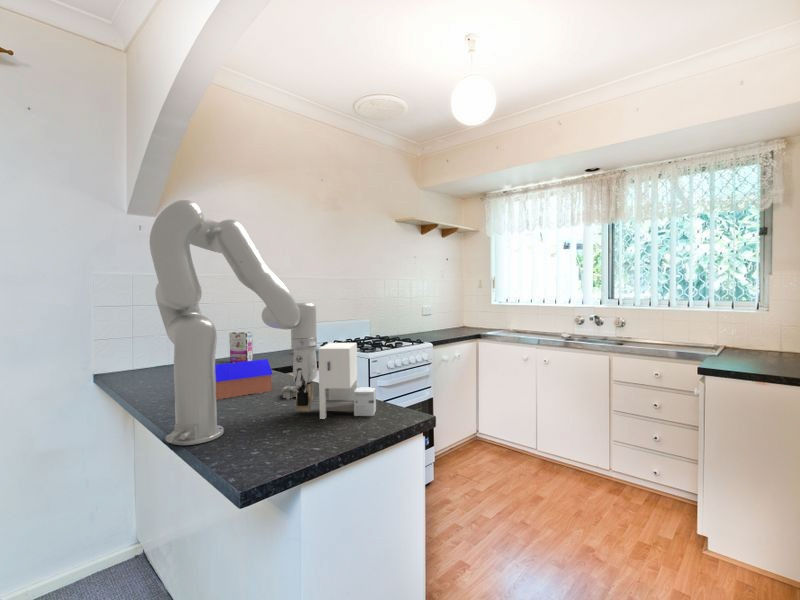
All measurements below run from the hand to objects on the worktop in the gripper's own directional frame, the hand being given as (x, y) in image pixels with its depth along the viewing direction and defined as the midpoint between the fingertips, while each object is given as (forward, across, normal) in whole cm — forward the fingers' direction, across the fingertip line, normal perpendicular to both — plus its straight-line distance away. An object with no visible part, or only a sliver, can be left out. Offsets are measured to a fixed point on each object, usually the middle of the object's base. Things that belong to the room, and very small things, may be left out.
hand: (305, 402), depth 122 cm
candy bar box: (+3, +90, +61) cm, 109 cm away
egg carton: (+4, +20, +9) cm, 23 cm away
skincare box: (+3, 0, -18) cm, 19 cm away
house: (+4, +26, +32) cm, 41 cm away
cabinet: (+3, +1, -10) cm, 11 cm away
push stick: (+2, 0, -7) cm, 7 cm away
